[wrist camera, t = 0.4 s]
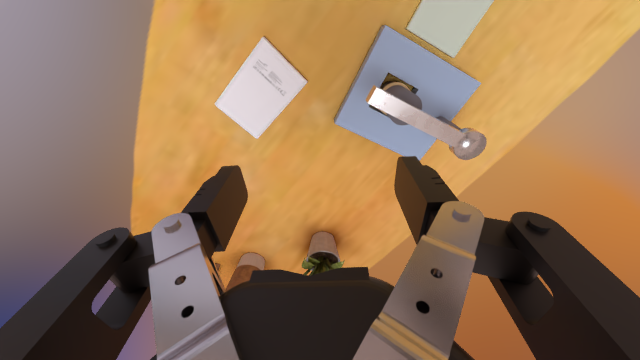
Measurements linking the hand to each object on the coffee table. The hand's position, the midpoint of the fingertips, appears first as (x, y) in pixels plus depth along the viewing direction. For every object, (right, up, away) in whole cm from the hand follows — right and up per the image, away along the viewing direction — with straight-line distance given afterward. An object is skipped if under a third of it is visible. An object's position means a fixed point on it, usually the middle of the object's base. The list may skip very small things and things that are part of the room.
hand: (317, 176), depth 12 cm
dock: (+13, +12, +24) cm, 30 cm away
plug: (+11, +13, +23) cm, 29 cm away
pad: (+17, +22, +17) cm, 33 cm away
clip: (+13, +7, +16) cm, 22 cm away
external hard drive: (-9, +14, +24) cm, 29 cm away
